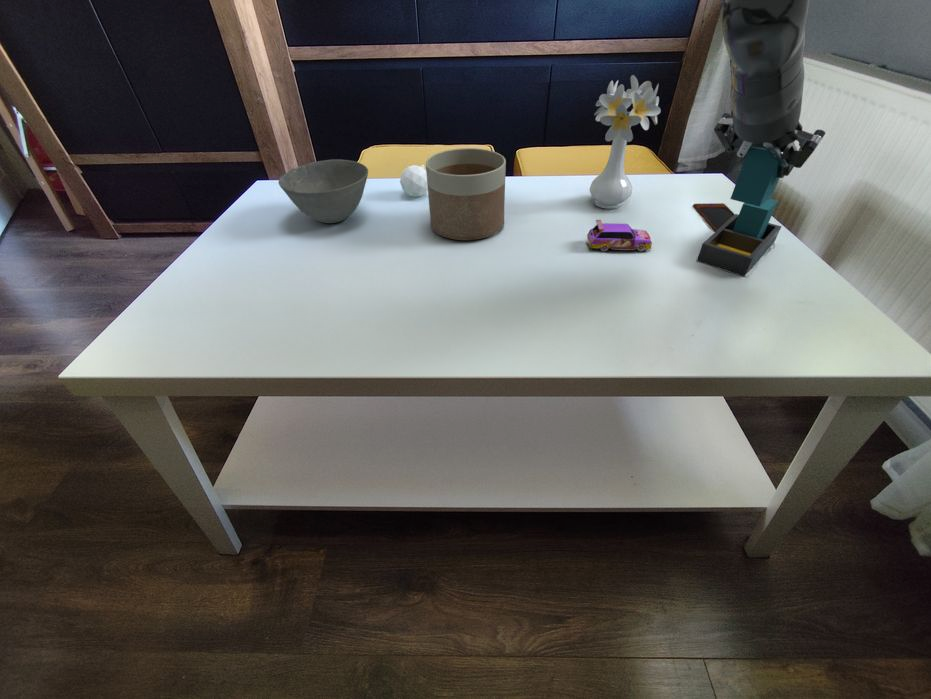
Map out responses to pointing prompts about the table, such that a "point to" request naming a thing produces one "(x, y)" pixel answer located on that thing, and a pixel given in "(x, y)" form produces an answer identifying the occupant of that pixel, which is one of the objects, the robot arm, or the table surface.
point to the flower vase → (621, 137)
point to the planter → (466, 193)
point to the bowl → (326, 188)
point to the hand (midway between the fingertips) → (766, 168)
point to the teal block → (756, 178)
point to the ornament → (414, 181)
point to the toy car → (618, 237)
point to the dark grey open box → (736, 248)
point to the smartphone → (714, 214)
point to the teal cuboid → (755, 218)
